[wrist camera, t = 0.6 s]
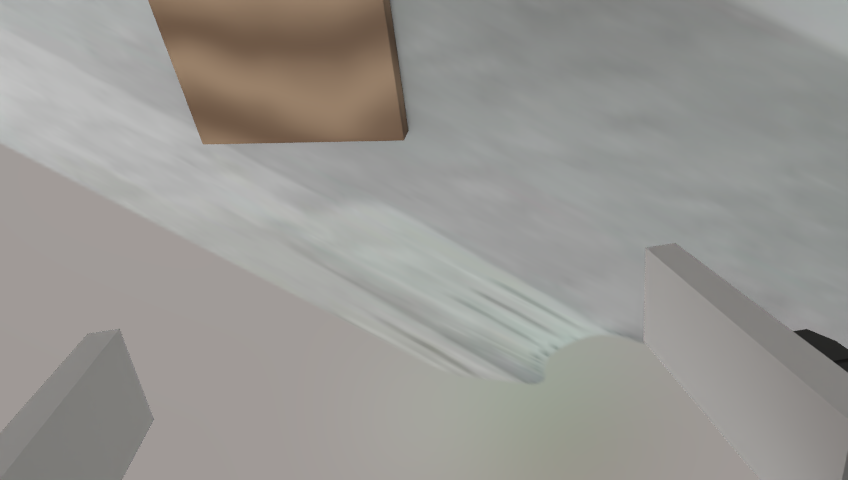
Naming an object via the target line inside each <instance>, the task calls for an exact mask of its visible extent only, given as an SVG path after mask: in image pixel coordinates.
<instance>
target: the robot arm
mask: <svg viewBox="0 0 848 480" xmlns="http://www.w3.org/2000/svg"><path fill="white" fill-rule="evenodd" d="M644 342H645V343H646V345H647V346H648V347H649V348H650V349H651V351H652V352H653V353H654V354H655V355H656V356H657V358H658V359H659V360H660V361H661V363H662V364H663V365H664V366H665V367H666V368H667V370H668V371H669V372H670V373H671V374H672V376H673V377H674V378H675V379H676V380H677V382H678V383H679V384H680V385H681V386H682V388H683V389H684V390H685V391H686V392H687V394H688V395H689V396H690V397H691V398H692V400H693V401H694V402H695V403H696V404H697V406H698V407H699V408H700V409H701V410H702V411H703V413H704V414H705V415H706V416H707V418H708V419H709V420H710V421H711V422H712V423H713V425H714V426H715V427H716V428H717V430H718V431H719V432H720V433H721V434H722V435H723V437H724V438H725V439H726V440H727V442H728V443H729V444H730V445H731V446H732V447H733V449H734V450H735V451H736V452H737V453H738V455H739V456H740V457H741V458H742V459H743V461H744V462H745V463H746V464H747V465H748V467H749V468H750V469H751V470H752V471H753V472H754V474H755V475H756V476H757V477H758V478H759V480H848V349H846V348H845V347H844V346H842V345H841V344H839V343H838V342H836V341H834V340H832V339H830V338H827V337H825V336H822V335H820V334H817V333H815V332H813V331H810V330H808V329H805V330H798V331H792V330H790V329H789V328H788V327H786V326H785V325H784V324H782V323H781V322H780V321H778V320H777V319H776V318H774V317H773V316H772V315H770V314H769V313H768V312H766V311H765V310H764V309H762V308H761V307H760V306H759V305H757V304H756V303H755V302H753V301H752V300H751V299H749V298H748V297H747V296H745V295H744V294H743V293H741V292H740V291H739V290H737V289H736V288H735V287H733V286H732V285H731V284H729V283H728V282H727V281H725V280H724V279H723V278H721V277H720V276H719V275H717V274H716V273H715V272H713V271H712V270H711V269H709V268H708V267H707V266H705V265H704V264H703V263H701V262H700V261H699V260H697V259H696V258H695V257H693V256H692V255H691V254H689V253H688V252H687V251H685V250H684V249H683V248H681V247H680V246H679V245H677V244H676V243H672V244H666V245H659V246H653V247H646V254H645V301H644ZM153 420H154V418H153V416H152V413H151V411H150V408H149V405H148V403H147V400H146V397H145V395H144V392H143V389H142V387H141V384H140V381H139V379H138V376H137V373H136V371H135V368H134V366H133V363H132V360H131V358H130V355H129V353H128V350H127V347H126V345H125V342H124V339H123V337H122V334H121V331H120V329H115V330H109V331H102V332H96V333H89V334H87V335H86V336H85V337H84V339H83V340H82V341H81V342H80V343H79V344H78V345H77V347H76V348H75V349H74V350H73V351H72V352H71V354H69V356H68V357H67V358H66V359H65V360H64V361H63V362H62V363H61V365H60V366H59V367H58V368H57V369H56V370H55V371H54V373H53V374H52V375H51V376H50V377H49V378H48V379H47V380H46V382H45V383H44V384H43V385H42V386H41V387H40V388H39V390H38V391H37V392H36V393H35V394H34V395H33V396H32V397H31V399H30V400H29V401H28V402H27V403H26V404H25V405H24V407H23V408H22V409H21V410H20V411H19V412H18V413H17V414H16V416H15V417H14V418H13V419H12V420H11V421H10V423H8V425H7V426H6V427H5V428H4V429H3V430H2V431H1V433H0V480H122V478H123V477H124V475H125V473H126V471H127V469H128V467H129V465H130V464H131V462H132V460H133V458H134V456H135V454H136V452H137V450H138V448H139V447H140V445H141V443H142V441H143V439H144V437H145V435H146V433H147V432H148V430H149V428H150V426H151V424H152V422H153Z"/></svg>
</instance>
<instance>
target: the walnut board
mask: <svg viewBox="0 0 848 480" xmlns="http://www.w3.org/2000/svg"><path fill="white" fill-rule="evenodd" d="M148 1H149V4H150V6H151V9H152V12H153V14H154V17H155V19H156V22H157V25H158V27H159V30H160V32H161V35H162V38H163V40H164V43H165V46H166V48H167V51H168V53H169V56H170V59H171V61H172V64H173V67H174V69H175V72H176V74H177V77H178V80H179V82H180V85H181V88H182V90H183V93H184V95H185V98H186V101H187V103H188V106H189V109H190V111H191V114H192V116H193V119H194V122H195V124H196V127H197V130H198V132H199V135H200V137H201V140H202V143H203V144H243V143H293V142H343V141H394V140H404V139H405V137H406V135H407V132H408V126H407V119H406V112H405V105H404V98H403V91H402V84H401V77H400V70H399V63H398V56H397V49H396V42H395V35H394V28H393V21H392V14H391V7H390V0H148Z"/></svg>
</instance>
